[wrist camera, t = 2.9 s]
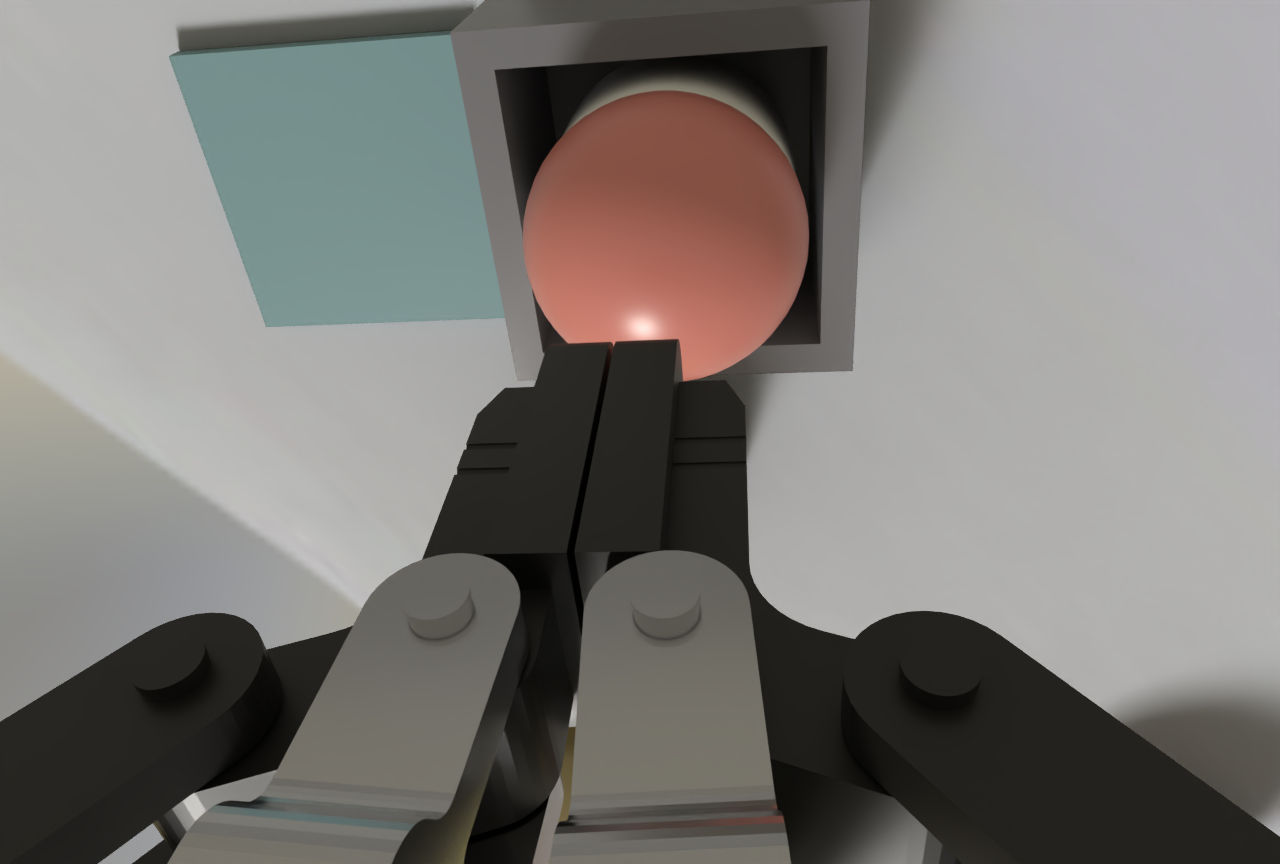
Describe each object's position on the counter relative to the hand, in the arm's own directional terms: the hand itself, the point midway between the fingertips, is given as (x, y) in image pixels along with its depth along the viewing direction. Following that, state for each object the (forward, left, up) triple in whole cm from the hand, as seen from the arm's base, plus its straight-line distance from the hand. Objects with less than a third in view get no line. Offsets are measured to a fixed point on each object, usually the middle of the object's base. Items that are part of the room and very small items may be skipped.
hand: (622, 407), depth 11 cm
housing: (0, 0, -11) cm, 11 cm away
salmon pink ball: (0, 0, -8) cm, 8 cm away
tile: (+7, +1, -11) cm, 13 cm away
